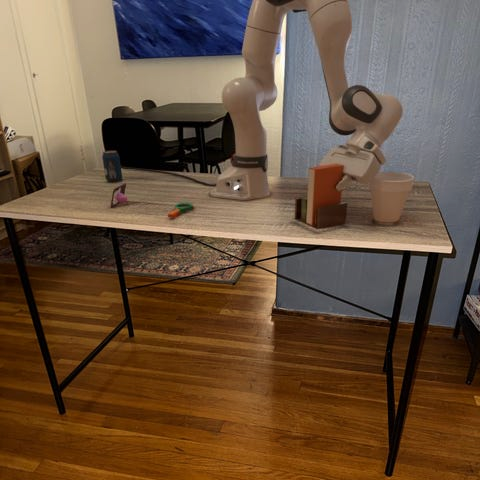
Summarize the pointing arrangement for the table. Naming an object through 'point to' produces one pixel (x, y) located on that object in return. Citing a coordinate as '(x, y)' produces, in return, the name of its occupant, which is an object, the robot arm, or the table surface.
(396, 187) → the flower pot
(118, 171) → the soda can
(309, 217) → the book
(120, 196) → the brown pink framed ornament
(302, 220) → the rack
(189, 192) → the table surface
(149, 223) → the table surface
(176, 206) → the magnifying glass
